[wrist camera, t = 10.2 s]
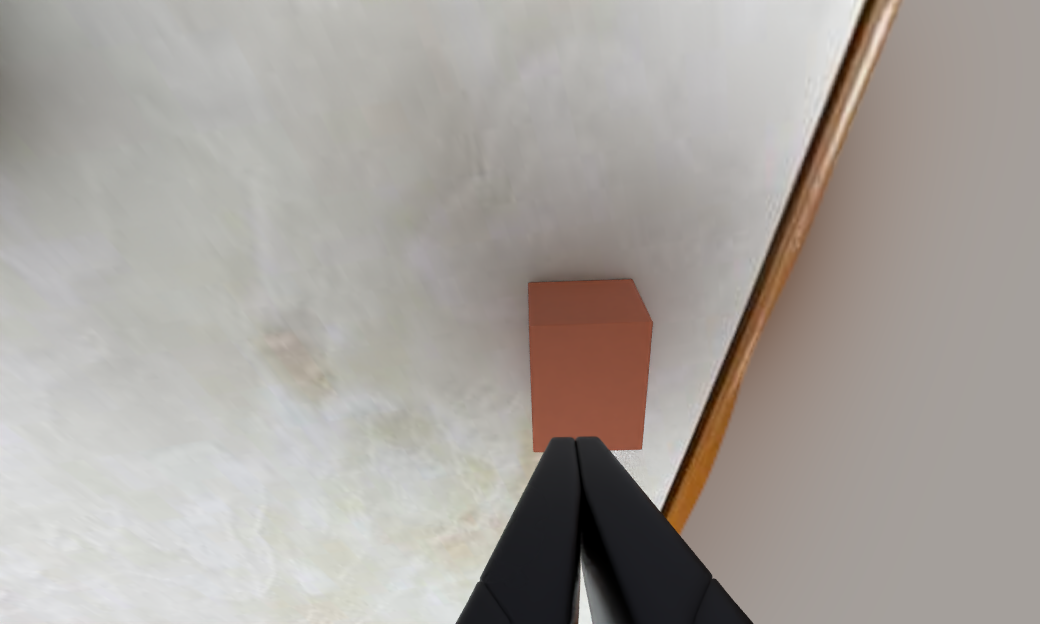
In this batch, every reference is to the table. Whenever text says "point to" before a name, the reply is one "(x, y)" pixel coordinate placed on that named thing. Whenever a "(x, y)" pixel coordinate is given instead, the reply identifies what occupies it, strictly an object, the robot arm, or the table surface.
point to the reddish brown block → (588, 361)
